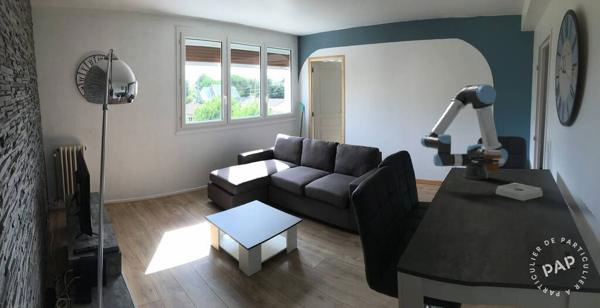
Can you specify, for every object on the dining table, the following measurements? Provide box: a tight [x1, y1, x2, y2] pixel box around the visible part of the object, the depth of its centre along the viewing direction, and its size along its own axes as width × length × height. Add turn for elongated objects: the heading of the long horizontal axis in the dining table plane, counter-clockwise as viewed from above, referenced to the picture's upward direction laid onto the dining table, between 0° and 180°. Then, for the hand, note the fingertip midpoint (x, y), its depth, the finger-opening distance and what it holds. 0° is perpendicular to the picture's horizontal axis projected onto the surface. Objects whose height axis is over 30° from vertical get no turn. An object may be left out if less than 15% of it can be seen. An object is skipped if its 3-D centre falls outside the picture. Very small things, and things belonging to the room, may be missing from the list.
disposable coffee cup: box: [484, 150, 502, 172], centre depth 209 cm, size 10×10×12 cm
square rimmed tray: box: [495, 182, 544, 202], centre depth 196 cm, size 16×16×4 cm
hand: (501, 159), depth 208 cm, fingers closed on disposable coffee cup, 8 cm apart
